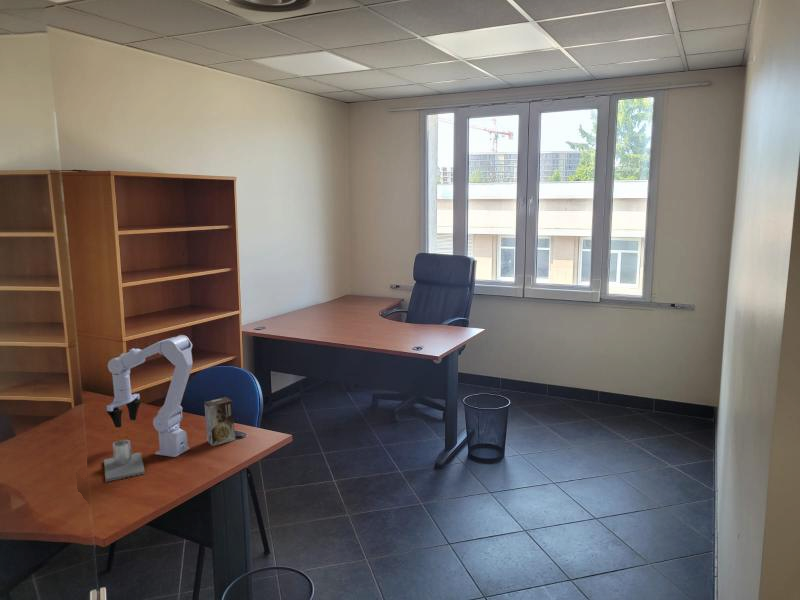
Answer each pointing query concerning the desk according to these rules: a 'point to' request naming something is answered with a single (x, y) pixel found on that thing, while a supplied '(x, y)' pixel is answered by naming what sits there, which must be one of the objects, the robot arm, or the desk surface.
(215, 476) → the desk surface
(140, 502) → the desk surface
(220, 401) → the coffee box
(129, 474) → the duct board
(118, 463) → the collar
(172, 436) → the robot arm
